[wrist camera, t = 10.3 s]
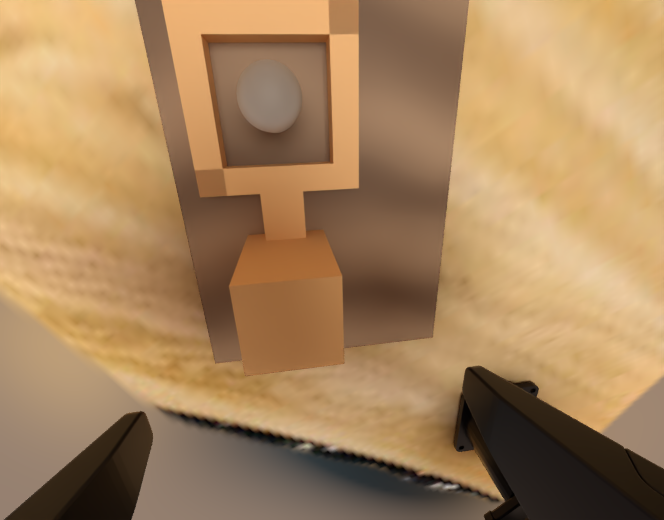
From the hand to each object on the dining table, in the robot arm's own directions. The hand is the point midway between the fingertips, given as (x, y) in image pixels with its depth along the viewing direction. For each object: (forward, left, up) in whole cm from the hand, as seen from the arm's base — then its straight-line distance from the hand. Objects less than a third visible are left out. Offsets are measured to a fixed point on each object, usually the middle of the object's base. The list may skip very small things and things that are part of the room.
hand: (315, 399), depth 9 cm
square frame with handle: (+5, +1, -9) cm, 11 cm away
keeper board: (+4, -1, -11) cm, 12 cm away
